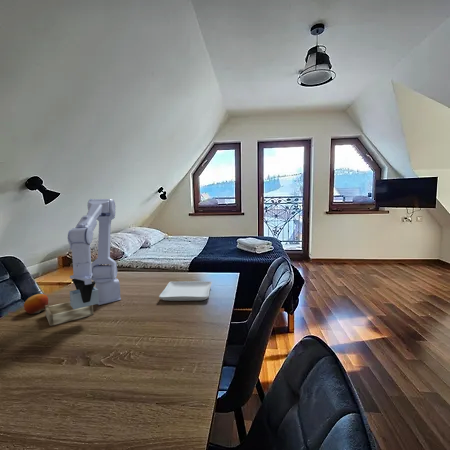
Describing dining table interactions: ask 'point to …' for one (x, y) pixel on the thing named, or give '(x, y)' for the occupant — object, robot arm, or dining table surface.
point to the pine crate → (66, 313)
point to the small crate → (77, 299)
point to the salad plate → (186, 291)
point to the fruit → (36, 303)
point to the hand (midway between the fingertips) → (84, 299)
